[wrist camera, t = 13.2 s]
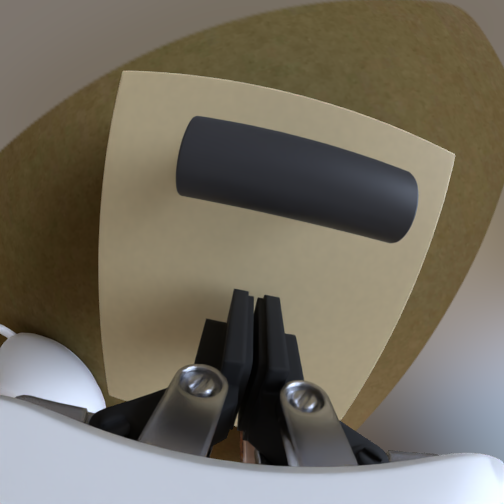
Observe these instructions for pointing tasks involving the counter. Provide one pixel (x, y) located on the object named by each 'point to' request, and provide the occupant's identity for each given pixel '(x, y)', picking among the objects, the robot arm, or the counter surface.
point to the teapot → (46, 371)
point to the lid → (257, 226)
